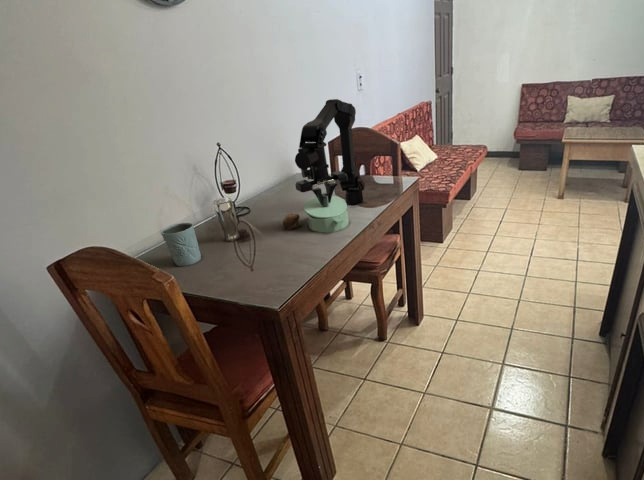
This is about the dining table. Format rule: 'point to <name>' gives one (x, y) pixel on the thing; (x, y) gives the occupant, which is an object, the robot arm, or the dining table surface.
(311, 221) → the pot
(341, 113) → the robot arm
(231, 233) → the beer glass
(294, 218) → the mushroom
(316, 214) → the lid
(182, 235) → the embossed blue planter
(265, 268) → the dining table surface
